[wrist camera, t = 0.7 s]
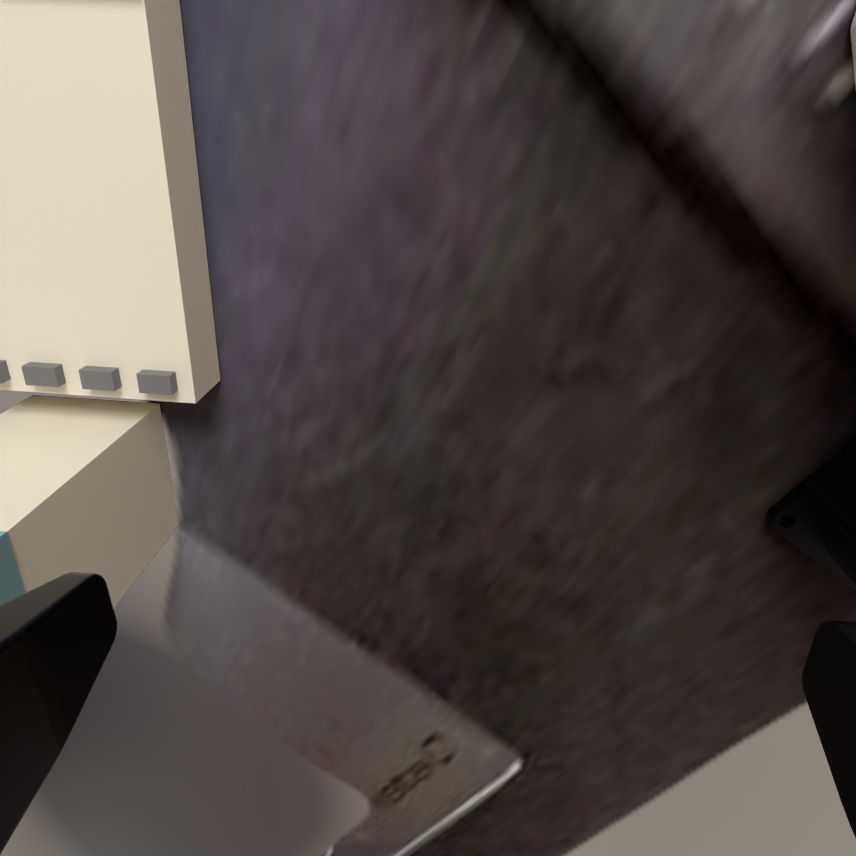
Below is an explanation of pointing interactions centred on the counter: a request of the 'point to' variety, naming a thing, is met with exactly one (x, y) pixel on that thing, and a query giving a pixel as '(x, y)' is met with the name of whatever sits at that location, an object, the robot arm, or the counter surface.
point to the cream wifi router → (101, 205)
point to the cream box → (82, 492)
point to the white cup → (853, 44)
